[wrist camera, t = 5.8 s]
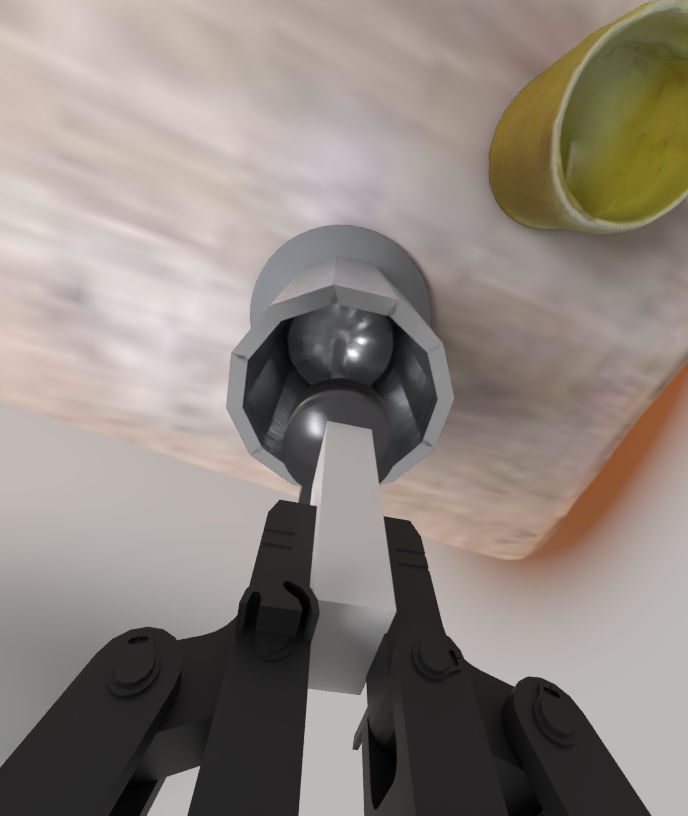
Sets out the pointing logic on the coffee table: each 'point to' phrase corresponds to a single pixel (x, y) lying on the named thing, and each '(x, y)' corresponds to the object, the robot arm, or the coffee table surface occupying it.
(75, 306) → the coffee table surface
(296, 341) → the plunger
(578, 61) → the mug
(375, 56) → the coffee table surface
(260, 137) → the coffee table surface
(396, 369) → the grey french press
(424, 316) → the coaster
